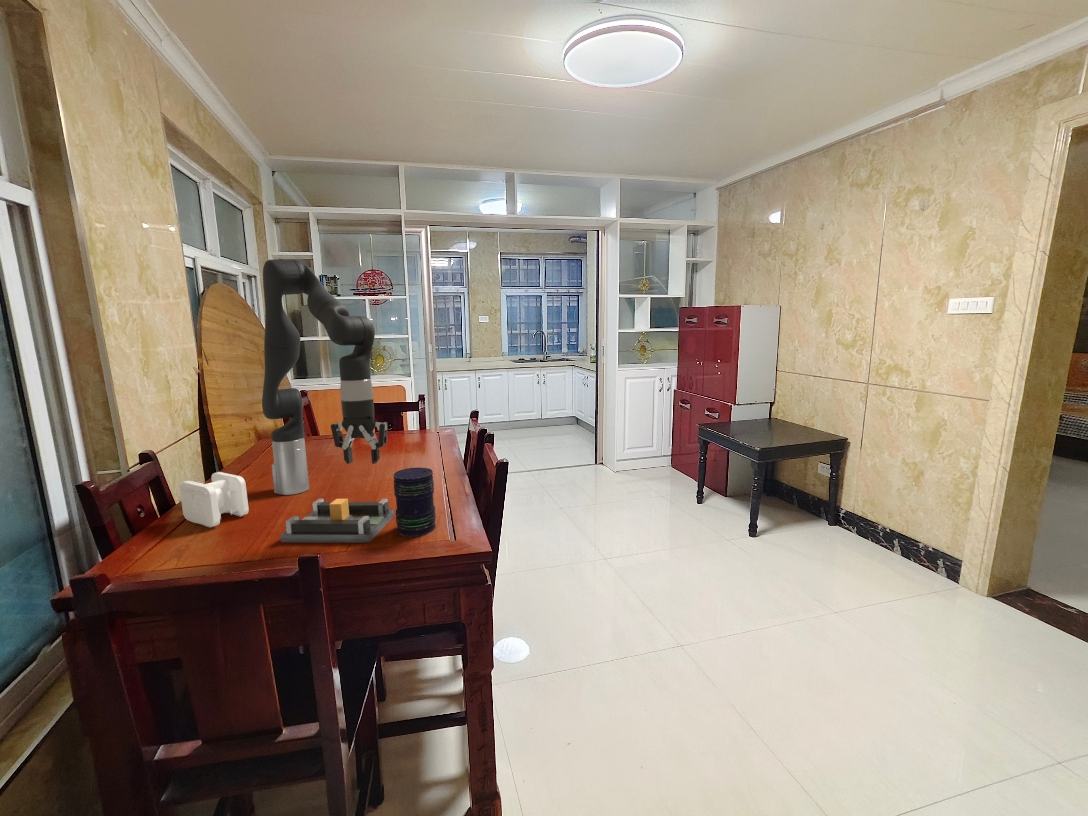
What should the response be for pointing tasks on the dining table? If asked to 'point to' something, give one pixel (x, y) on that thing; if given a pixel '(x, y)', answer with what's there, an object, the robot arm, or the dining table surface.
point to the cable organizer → (214, 499)
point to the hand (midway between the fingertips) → (362, 462)
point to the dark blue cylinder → (414, 501)
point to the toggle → (339, 510)
